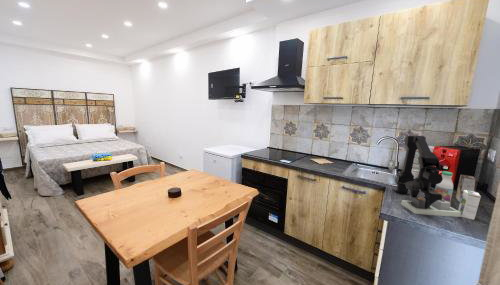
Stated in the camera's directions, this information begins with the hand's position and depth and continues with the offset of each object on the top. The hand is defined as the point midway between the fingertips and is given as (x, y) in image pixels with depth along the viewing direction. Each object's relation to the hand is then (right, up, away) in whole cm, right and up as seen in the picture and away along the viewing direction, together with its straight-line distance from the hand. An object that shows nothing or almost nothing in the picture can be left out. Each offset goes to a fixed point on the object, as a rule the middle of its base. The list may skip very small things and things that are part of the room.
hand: (419, 204), depth 113 cm
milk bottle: (+23, -3, +12) cm, 27 cm away
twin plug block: (+11, -4, 0) cm, 12 cm away
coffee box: (+43, -3, +17) cm, 46 cm away
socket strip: (+5, -4, 0) cm, 7 cm away
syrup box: (+21, -6, -4) cm, 22 cm away
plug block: (0, -3, +1) cm, 3 cm away
